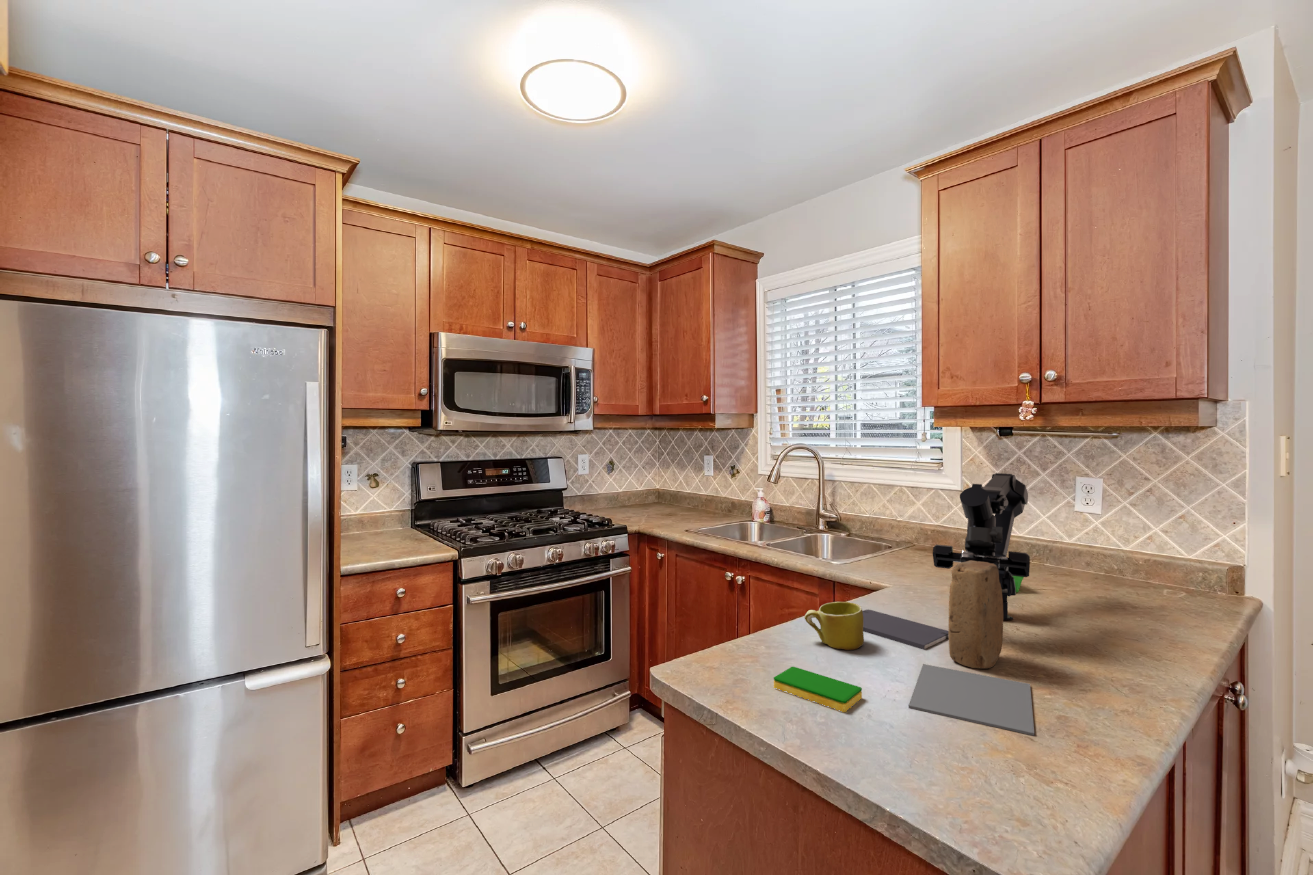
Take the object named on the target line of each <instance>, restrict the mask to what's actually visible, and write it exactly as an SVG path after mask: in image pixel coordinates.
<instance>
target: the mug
mask: <svg viewBox="0 0 1313 875" xmlns="http://www.w3.org/2000/svg"><path fill="white" fill-rule="evenodd" d="M862 611H863V608H862V606H861V605H860V604H857V603H854V602H849V601H833V602H827V603H824V604H822V605H821V606H820V607H819V609H818V610H815V609H809V610H808V611H807V612H806V613H805V615H804V620H805V621H806V623H807V624H808V625H809V626H810V627H812V629H814V630H815V631H816V633H817V634H818V638H820V640H821V642H822V643H823V644H825V645H828V646H829V647H831V648H834V649H837V650H838V649H839V650H841V649H842V650H845V651H854V650H857V649H860V647H863V645H864V642H865V638H864V637H865V636H864V631H863V612H862ZM813 618H815V619H816V620H817V622H818V624H819V625H820V628H819V626H817V624H816V623H815V622H814V621H813V620H812V619H813Z"/></svg>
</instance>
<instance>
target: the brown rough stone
mask: <svg viewBox="0 0 1313 875" xmlns="http://www.w3.org/2000/svg"><path fill="white" fill-rule="evenodd" d="M948 631H949V632H948V634H949V637H948V651H949V657H950V659H951V660H952V661H954V662H956V663H958V664H960V665H962V666H965V667H968V668H972V669H991V668H993V667H994V666H995V665H996V664H997V662H998V660H999V657H1000V654H1001V653H1002V647H1003V638H1004V635H1003V634H1004V620H1003V599H1002V588H1001V584H1000V582H999V572H998V568H997V566H996V565H995V564H992V563H988V562H980V561H978V562H977V561H972V560H970V561H966V562H958V563H957V564H956V565H955V566H953V567H952V569H951V583H950V585H949V596H948Z"/></svg>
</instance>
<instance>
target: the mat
mask: <svg viewBox="0 0 1313 875" xmlns="http://www.w3.org/2000/svg"><path fill="white" fill-rule="evenodd" d="M1032 702H1033V700H1032V693H1031V683H1027V682H1023V681H1021V682H1020V681H1017V680H1011V679H1005V678H1000V677H994V676H990V675H984V674H980V673H979V674H978V673H972V672H968V671H963V670H957V669H952V668H948V667H947V668H946V667H942V666H936V665H931V664H926V663H925V664H924V663H923V664H922V666H921V668H920V672H919V675H918V677H917V681H916V683H915V686H914V689H913V692H912V695H911V698H910V700H909V704H908V709H913V710H916V711H917V710H918V711H922V712H925V713H926V712H927V713H931V714H935V715H940V716H944V717H949V718H953V719H957V720H961V721H967V722H971V723H976V724H980V725H984V726H989V727H993V728H996V729H997V728H998V729H1001V730H1007V731H1010V732H1011V731H1012V732H1015V733H1019V734H1023V735H1024V734H1025V735H1028V736H1033V737H1034V736H1035V728H1034V726H1035V725H1034V716H1033V715H1034V714H1033V706H1032V705H1033V703H1032Z"/></svg>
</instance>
